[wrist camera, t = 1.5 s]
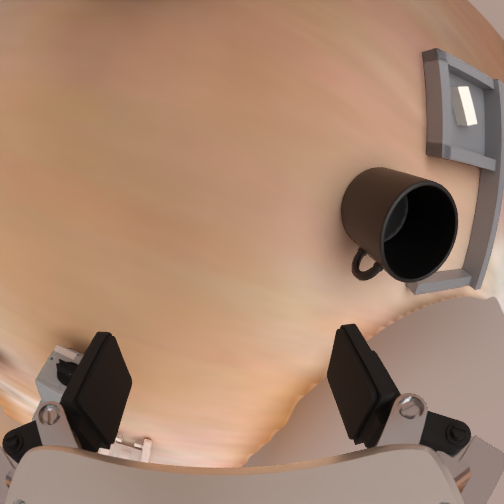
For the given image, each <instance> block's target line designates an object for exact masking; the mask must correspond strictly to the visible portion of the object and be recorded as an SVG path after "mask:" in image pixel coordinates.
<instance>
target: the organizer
mask: <svg viewBox="0 0 504 504" xmlns="http://www.w3.org/2000/svg"><path fill="white" fill-rule="evenodd" d="M422 54H423V62H424V72H425V83H426V101H427V148H426V155H431V156H436V157H441V158H445V159H450V160H454V161H458V162H462V163H466V164H470V165H474V166H477V167H481V171H480V182H479V190H478V198H477V205H476V211H475V217H474V223H473V228H472V233H471V237H470V242H469V246H468V250H467V254H466V258H465V262H464V266H463V269H457V270H450V271H441V272H435V273H433V274H432V275H431V276H429V277H427V278H426V279H424V280H421V281H418V282H414V283H406V286H407V287H408V288H409V289H410V290H411V291H412V292H413V293H414V294H415V295H417V294H423V293H429V292H435V291H441V290H447V289H452V288H458V287H463V286H468V285H469V286H471V287H472V288H473V289H474V290H477V289H480V288H481V285H482V282H483V279H484V276H485V273H486V270H487V266H488V263H489V259H490V256H491V252H492V248H493V244H494V240H495V235H496V231H497V226H498V221H499V216H500V210H501V204H502V197H503V189H504V83H503V82H501V81H500V80H498V79H492V78H490V77H489V76H487V75H486V74H484V73H482V72H481V71H479V70H477V69H476V68H474V67H472V66H471V65H469V64H467V63H465V62H464V61H462V60H460V59H458V58H456V57H454V56H452V55H450V54H448V53H446V52H444V51H442V50H440V49H438V48H435V49H432V50H428V51H425V52H422ZM464 86H468V88H469V91H470V95H471V98H472V102H473V106H474V110H475V115H476V119H477V124H474V125H469V126H464V125H457V121H456V117H455V113H454V109H453V105H452V101H451V92H450V88H451V87H464Z"/></svg>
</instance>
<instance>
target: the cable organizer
mask: <svg viewBox="0 0 504 504" xmlns="http://www.w3.org/2000/svg"><path fill="white" fill-rule="evenodd" d="M122 440H123V436H122V439H121V438H118V437H116V439H115V443H114V444H111V447H110V450H108V449H103V448H100V452H99V454H103V455H108V456H113V457H118V458H123V459H128V460H134V461H140V462H146V463H149V460H150V454H151V447H152V441H151V440H150V439H145V440H144V443H143V445H140V444H137V443H134V447H139V448H142V450H138V449H135V448H132V447H128V446H125V445H122V444H119V443H116V441H119V442H121V443H122Z"/></svg>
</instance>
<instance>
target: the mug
mask: <svg viewBox="0 0 504 504" xmlns="http://www.w3.org/2000/svg"><path fill="white" fill-rule="evenodd" d="M342 220H343V224H344V228H345V230H346V232H347V234H348V235H349V237H350V238H351V239H352V240H353V241H354V242H355V243H356V244H357V245H358V246H360V247H359V249H358V252H357V253H356V255H355V257H354V259H353V262H352V273H353V275H354V276H355V277H356V278H357V279H359V280H362V281H365V280H369V279H371V278H373V277H374V276H375V275H377V274H378V273H379V272H380V271H382V270H383V269H384V270H385V271H386V272H387V273H388V274H389V275H390V276H392V277H393V278H394V279H396V280H398V281H401V282H406V283H414V282H418V281H421V280H424V279H426V278H427V277H429V276H431V275H432V274H433V273H435V272H436V271H437V270H438V269H439V268H440V267H441V266H442V264H443V263H444V262H445V261H446V259H447V257H448V256H449V254H450V252H451V250H452V248H453V245H454V243H455V239H456V235H457V230H458V213H457V208H456V205H455V202H454V200H453V198H452V196H451V194H450V193H449V192H448V190H447V189H446V188H444V187H443V186H442V185H440V184H438V183H436V182H434V181H430V180H427V179H424V178H420V177H417V176H413V175H410V174H406V173H403V172H399V171H395V170H391V169H387V168H372V169H369V170H367V171H365V172H363V173H361V174H360V175H359V176H357V177H356V178H355V179H354V180H353V182H352V183H351V184H350V186H349V187H348V189H347V191H346V193H345V196H344V199H343V203H342ZM366 254H368V255H369V256H370V257H371V258H373V259H374V260H375V261H376V262H375V263H374V266H373V267H372V268H370V269H369V270H367V271H364V272H363V271H360V270H359V265H360V262H361V260H362V258H363V256H365V255H366Z"/></svg>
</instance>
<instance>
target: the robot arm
mask: <svg viewBox="0 0 504 504" xmlns="http://www.w3.org/2000/svg"><path fill="white" fill-rule="evenodd" d="M327 378H328V381H329V384H330V387H331V390H332V392H333V395H334V398H335V400H336V403H337V406H338V409H339V412H340V414H341V417H342V420H343V423H344V425H345V428H346V431H347V434H348V437H349V438H350V439H353V440H354V443H355V445H357V444H360V443H364V444H365V446H366V447H367V449H364V450H360V451H355V452H351V453H347V454H342V455H338V456H333V457H328V458H323V459H317V460H311V461H305V462H298V463H291V464H283V465H273V466H261V467H244V468H201V467H183V466H171V465H162V464H154V463H146V462H140V461H134V460H128V459H123V458H118V457H113V456H108V455H103V454H99V453H98V450H99V448H103V449H108V450H110V447H111V444H114V443H115V439H116V436H117V432H118V429H119V425H120V422H121V418H122V415H123V412H124V408H125V405H126V402H127V399H128V395H129V392H130V389H131V386H132V379H131V376H130V374H129V371H128V369H127V367H126V364H125V362H124V359H123V357H122V354H121V351H120V349H119V346H118V343H117V341H116V338H115V337H114V336H112V334H111V333H109V332H97V333H96V335H95V337H94V338H93V340H92V342H91V343H90V345H89V347H88V349H87V350H86V352H85V354H84V356H83V357H82V359H81V361H80V363H79V365H78V367H77V368H76V370H75V372H74V374H73V376H72V378H71V380H70V382H69V384H68V386H67V388H66V389H65V391H64V393H63V395H62V398H61V401H60V403H58V402H55V401H48V402H45V403H43V404H42V405H40V406H39V407H38V409H37V411H36V414H35V417H36V420H34V421H32V422H30V423H27V424H25V425H23V426H21V427H18V428H16V429H13V430H11V431H9V432H8V433H7V434H6V435H5V437H4V439H3V447H2V448H1V447H0V504H486V503H487V501H488V499H489V497H490V496H491V494H492V492H493V490H494V488H495V486H496V485H497V482H498V481H499V479H500V476H501V475H502V473H503V470H504V453H503V452H502V451H500V450H498V449H497V448H495V447H493V446H492V445H490V444H488V443H487V442H485V441H484V440H482V439H481V438H479V437H477V436H476V435H475V436H474V437H472V436H471V432H470V429H469V427H468V426H467V425H466V424H465V423H464V422H461V421H459V420H455V419H452V418H448V417H446V416H442V415H439V414H436V413H433V412H430V411H427V410H428V407H427V404H426V402H425V401H424V399H423V398H421V397H420V396H418V395H416V394H411V393H407V394H403V395H401V394H400V392H399V391H398V389H397V387H396V386H395V384H394V382H393V380H392V379H391V377H390V375H389V373H388V372H387V370H386V368H385V367H384V365H383V363H382V362H381V360H380V358H379V357H378V355H377V354H376V352H375V351H371V349H370V347H369V346H368V344H367V342H366V341H365V339H364V337H363V336H362V334H361V332H360V331H359V329H358V328H357V326H356V325H355V324H348V325H342V326H341V327H340V329H337V331H336V335H335V340H334V345H333V350H332V354H331V359H330V363H329V367H328V371H327Z"/></svg>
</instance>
